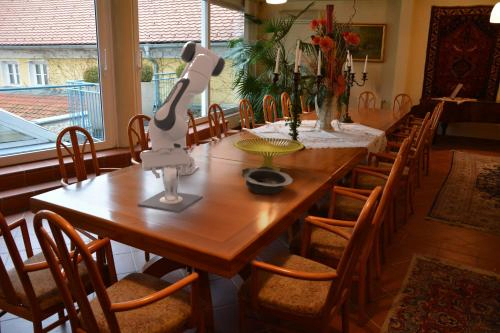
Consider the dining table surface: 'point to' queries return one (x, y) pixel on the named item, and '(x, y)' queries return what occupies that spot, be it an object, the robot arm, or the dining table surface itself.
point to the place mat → (175, 206)
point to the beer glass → (170, 182)
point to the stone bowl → (265, 180)
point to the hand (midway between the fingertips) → (169, 176)
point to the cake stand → (268, 149)
